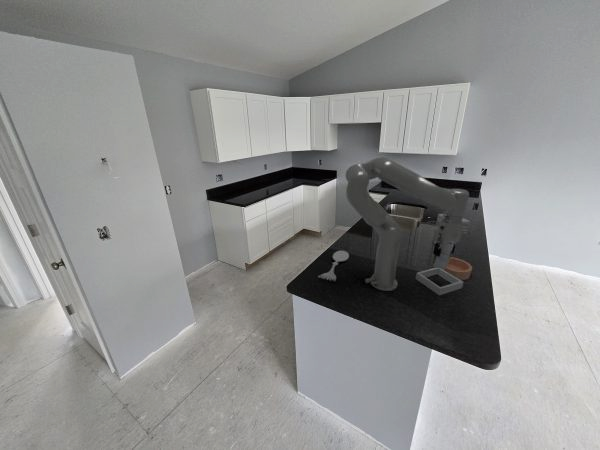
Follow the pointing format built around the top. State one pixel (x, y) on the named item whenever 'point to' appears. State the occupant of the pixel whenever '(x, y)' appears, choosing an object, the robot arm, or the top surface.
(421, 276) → the parts tray
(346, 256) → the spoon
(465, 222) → the supplement box
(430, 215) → the top surface
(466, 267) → the bowl
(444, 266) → the syrup box
